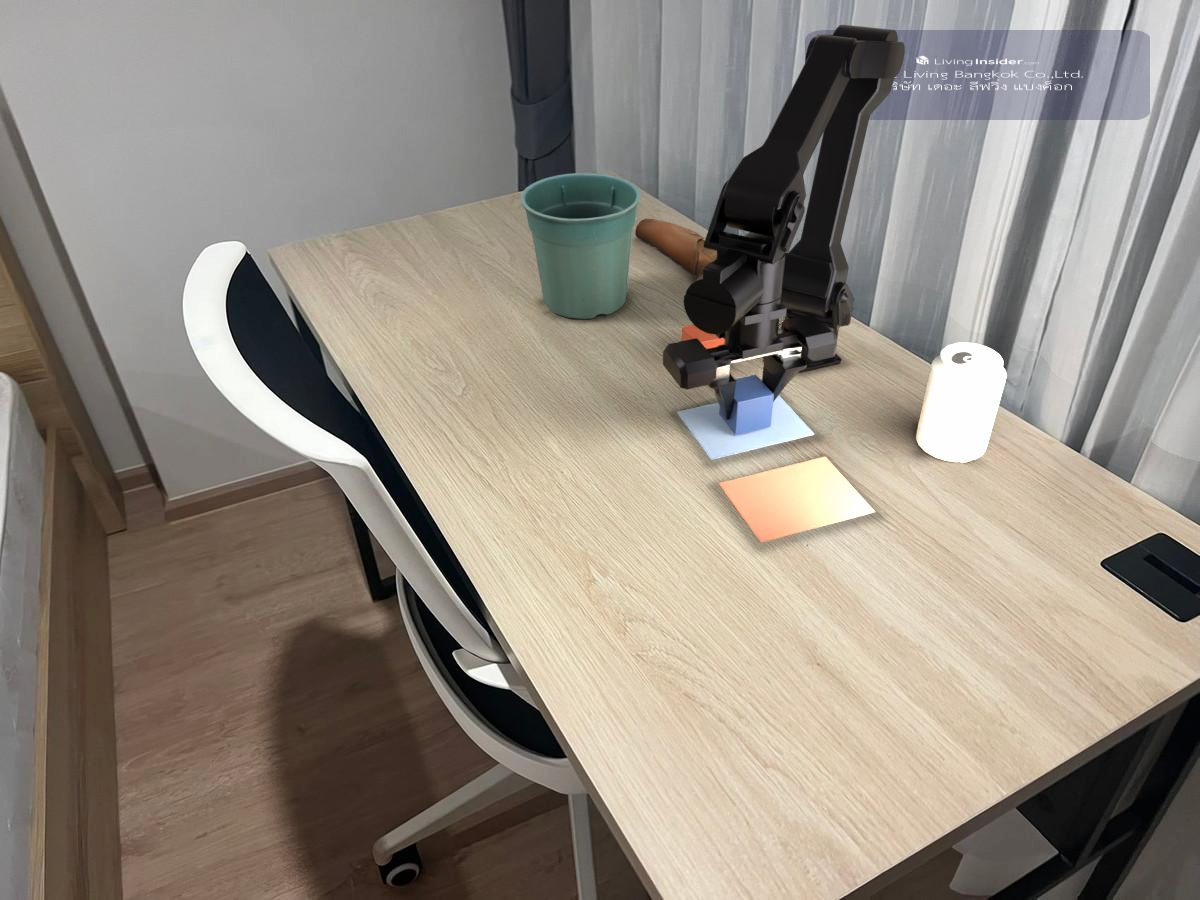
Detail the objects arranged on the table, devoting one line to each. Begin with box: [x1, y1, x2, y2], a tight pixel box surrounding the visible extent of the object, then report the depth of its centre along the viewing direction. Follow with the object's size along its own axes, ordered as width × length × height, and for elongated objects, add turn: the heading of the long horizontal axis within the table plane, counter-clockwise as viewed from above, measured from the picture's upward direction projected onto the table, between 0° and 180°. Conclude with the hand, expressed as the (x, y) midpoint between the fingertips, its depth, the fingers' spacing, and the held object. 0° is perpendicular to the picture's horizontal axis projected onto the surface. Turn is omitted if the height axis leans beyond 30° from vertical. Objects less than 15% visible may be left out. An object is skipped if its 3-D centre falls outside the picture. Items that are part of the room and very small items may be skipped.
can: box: [915, 342, 1007, 464], centre depth 97 cm, size 8×8×12 cm
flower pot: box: [519, 172, 642, 320], centre depth 127 cm, size 16×16×16 cm
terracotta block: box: [680, 324, 724, 349], centre depth 116 cm, size 4×4×4 cm
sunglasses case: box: [634, 218, 717, 280], centre depth 142 cm, size 18×7×7 cm
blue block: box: [719, 374, 774, 435], centre depth 103 cm, size 4×4×4 cm
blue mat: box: [676, 394, 816, 461], centre depth 105 cm, size 13×10×1 cm
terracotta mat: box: [717, 455, 876, 544], centre depth 94 cm, size 13×10×1 cm
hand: (745, 413), depth 104 cm, fingers closed on blue block, 4 cm apart
